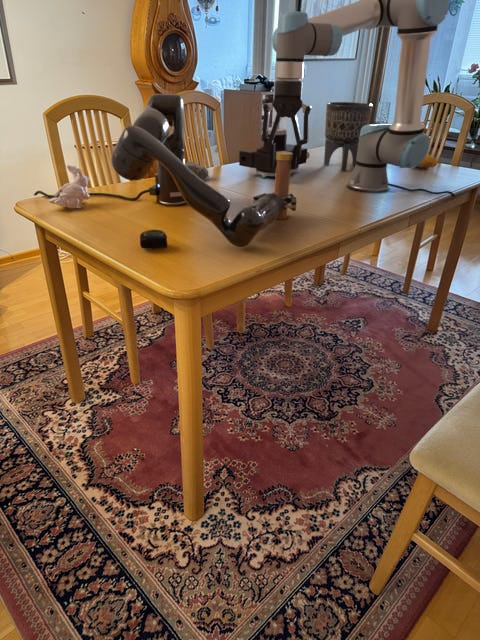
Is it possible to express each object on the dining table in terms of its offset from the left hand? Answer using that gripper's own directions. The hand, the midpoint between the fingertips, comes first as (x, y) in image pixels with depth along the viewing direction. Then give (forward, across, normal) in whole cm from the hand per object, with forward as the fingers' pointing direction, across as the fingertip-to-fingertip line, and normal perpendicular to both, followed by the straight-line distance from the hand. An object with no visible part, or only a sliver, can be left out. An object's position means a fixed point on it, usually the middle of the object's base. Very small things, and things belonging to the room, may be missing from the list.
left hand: (283, 195), depth 142 cm
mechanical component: (+57, -19, -6) cm, 60 cm away
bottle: (-3, 0, -6) cm, 7 cm away
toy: (+101, +37, -6) cm, 108 cm away
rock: (+29, -47, -6) cm, 55 cm away
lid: (-3, 0, +13) cm, 13 cm away
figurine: (-22, -65, -6) cm, 69 cm away
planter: (+83, +3, -6) cm, 83 cm away
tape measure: (-42, -21, -6) cm, 48 cm away
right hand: (-3, 0, +9) cm, 9 cm away
